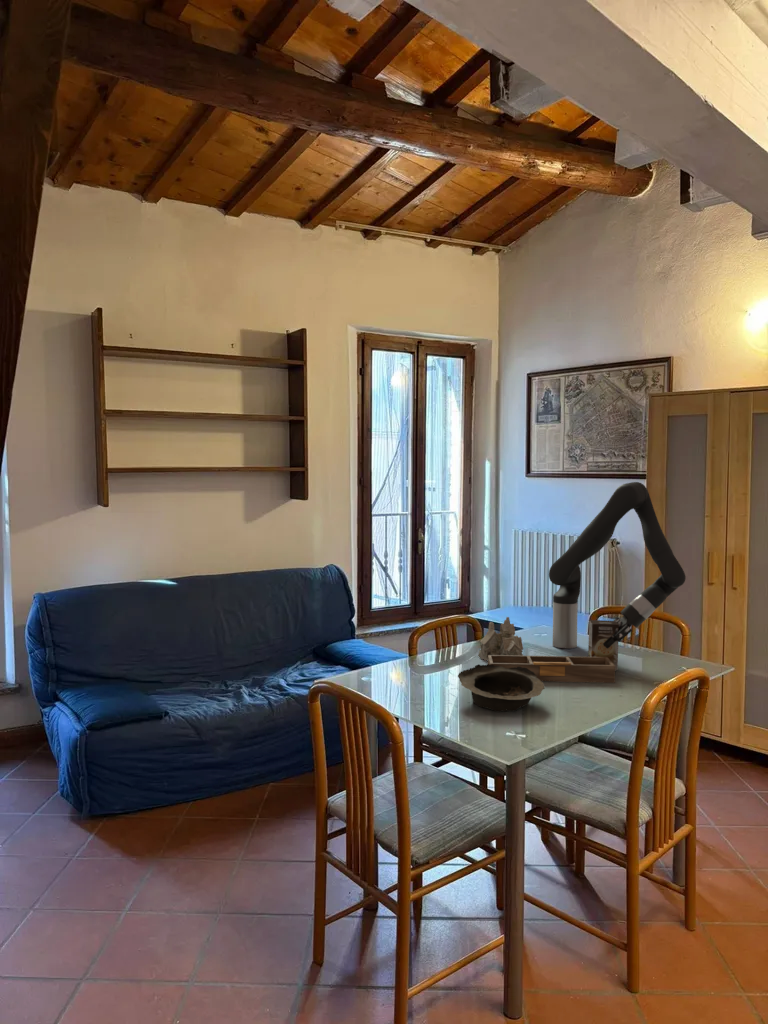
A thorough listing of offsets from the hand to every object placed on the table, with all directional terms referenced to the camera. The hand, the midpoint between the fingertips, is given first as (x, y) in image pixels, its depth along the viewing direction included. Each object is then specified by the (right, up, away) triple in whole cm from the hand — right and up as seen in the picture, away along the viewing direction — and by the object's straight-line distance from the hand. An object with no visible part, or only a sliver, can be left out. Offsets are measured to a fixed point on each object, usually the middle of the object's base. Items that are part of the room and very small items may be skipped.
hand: (602, 643), depth 252 cm
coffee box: (0, -9, +1) cm, 9 cm away
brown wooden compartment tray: (-21, -9, -10) cm, 25 cm away
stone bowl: (-41, -11, -37) cm, 57 cm away
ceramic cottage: (-33, -8, +12) cm, 36 cm away
